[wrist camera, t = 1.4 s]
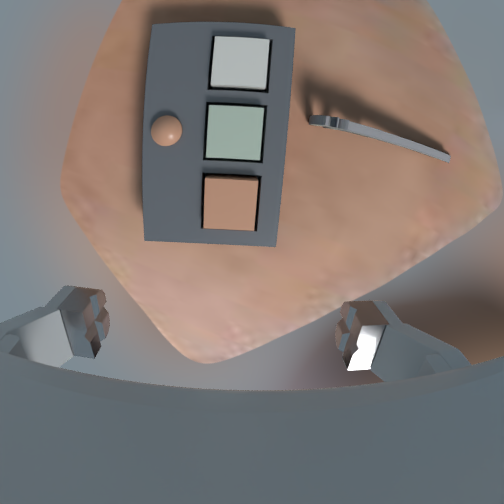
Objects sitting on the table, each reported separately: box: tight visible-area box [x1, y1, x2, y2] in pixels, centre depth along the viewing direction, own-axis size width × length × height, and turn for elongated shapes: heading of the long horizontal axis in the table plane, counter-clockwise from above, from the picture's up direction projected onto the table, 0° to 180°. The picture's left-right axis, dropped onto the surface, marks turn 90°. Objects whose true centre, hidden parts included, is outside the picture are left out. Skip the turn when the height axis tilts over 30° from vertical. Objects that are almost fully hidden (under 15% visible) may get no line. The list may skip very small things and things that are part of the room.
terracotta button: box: [204, 174, 258, 231], centre depth 30 cm, size 5×5×3 cm
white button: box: [211, 36, 269, 91], centre depth 25 cm, size 5×5×3 cm
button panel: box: [142, 22, 295, 247], centre depth 28 cm, size 23×14×5 cm, turn 176°
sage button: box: [206, 105, 264, 160], centre depth 28 cm, size 5×5×3 cm
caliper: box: [309, 115, 451, 163], centre depth 29 cm, size 20×1×6 cm, turn 83°
